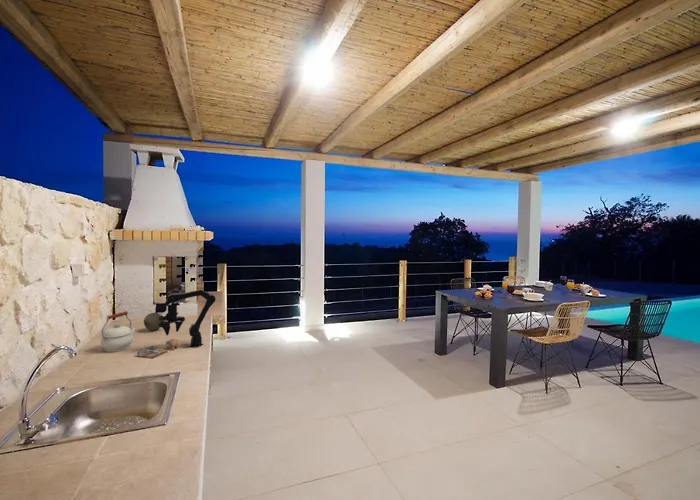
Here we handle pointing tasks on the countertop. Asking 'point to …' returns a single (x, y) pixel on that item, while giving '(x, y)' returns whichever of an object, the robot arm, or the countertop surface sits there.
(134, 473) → the countertop surface
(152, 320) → the cantaloupe
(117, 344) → the kettle
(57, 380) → the countertop surface
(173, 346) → the tan cube
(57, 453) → the countertop surface
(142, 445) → the countertop surface
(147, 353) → the board
